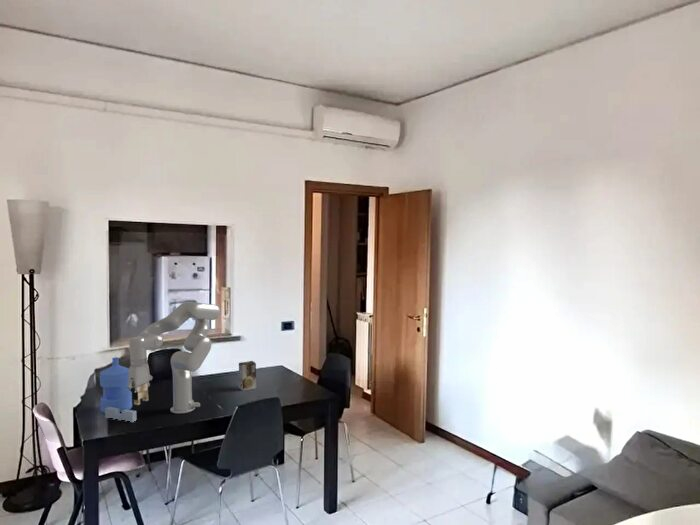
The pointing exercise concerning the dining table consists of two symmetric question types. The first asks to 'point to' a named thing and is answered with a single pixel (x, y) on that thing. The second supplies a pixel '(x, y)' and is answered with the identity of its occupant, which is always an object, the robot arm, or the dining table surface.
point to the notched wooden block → (142, 393)
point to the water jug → (115, 387)
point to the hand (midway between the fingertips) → (141, 396)
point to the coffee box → (247, 375)
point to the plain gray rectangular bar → (126, 414)
